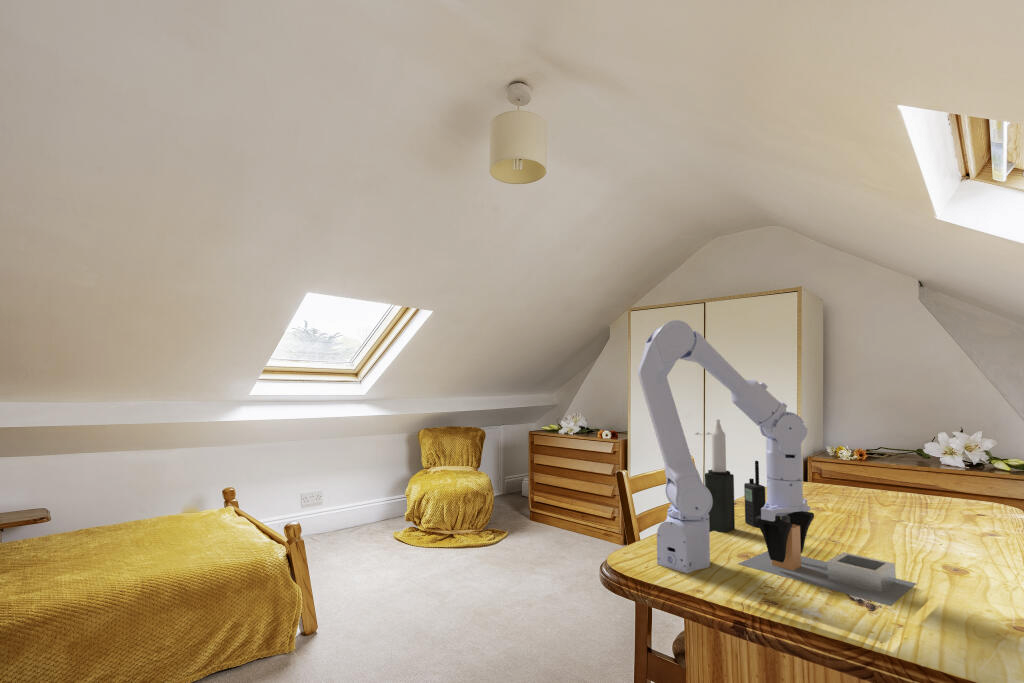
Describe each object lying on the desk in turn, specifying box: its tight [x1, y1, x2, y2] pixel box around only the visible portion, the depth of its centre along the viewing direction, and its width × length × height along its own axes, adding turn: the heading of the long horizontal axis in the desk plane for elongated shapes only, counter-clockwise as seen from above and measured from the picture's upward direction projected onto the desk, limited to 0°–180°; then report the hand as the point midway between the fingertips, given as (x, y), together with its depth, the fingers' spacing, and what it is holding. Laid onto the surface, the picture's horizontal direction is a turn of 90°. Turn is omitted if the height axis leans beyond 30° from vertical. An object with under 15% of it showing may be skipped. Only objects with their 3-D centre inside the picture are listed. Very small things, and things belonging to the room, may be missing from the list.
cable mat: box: [737, 550, 917, 607], centre depth 91 cm, size 14×23×1 cm, turn 40°
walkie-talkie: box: [743, 460, 766, 528], centre depth 126 cm, size 5×3×15 cm
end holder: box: [826, 551, 897, 594], centre depth 87 cm, size 8×8×3 cm
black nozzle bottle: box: [704, 418, 736, 534], centre depth 119 cm, size 5×5×25 cm
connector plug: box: [772, 515, 802, 570], centre depth 95 cm, size 4×4×9 cm
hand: (786, 556), depth 94 cm, fingers open, 7 cm apart
